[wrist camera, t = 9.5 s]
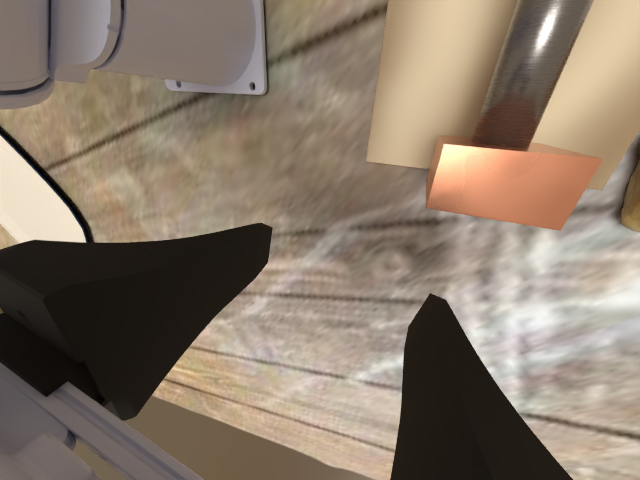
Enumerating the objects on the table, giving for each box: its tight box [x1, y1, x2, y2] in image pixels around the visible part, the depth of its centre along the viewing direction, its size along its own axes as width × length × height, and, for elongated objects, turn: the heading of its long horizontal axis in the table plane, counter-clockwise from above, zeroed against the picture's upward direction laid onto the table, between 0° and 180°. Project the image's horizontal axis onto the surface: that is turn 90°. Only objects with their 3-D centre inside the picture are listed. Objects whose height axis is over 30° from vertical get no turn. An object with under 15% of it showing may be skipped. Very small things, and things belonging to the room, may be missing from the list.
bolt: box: [426, 0, 603, 231], centre depth 8 cm, size 4×10×5 cm, turn 177°
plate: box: [0, 133, 88, 243], centre depth 40 cm, size 25×25×2 cm
